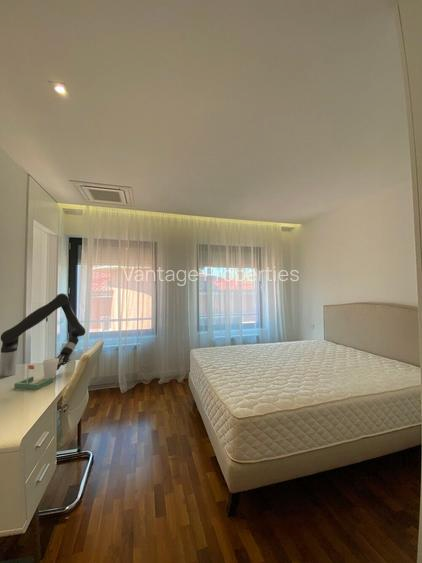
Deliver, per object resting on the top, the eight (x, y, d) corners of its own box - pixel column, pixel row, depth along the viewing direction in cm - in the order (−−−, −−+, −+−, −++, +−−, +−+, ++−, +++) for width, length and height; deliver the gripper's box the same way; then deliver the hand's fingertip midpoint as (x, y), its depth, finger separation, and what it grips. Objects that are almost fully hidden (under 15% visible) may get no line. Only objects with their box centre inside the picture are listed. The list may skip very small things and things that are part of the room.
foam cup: (60, 375, 170) (61, 358, 170) (51, 380, 161) (52, 361, 161) (49, 375, 171) (50, 357, 171) (38, 379, 162) (39, 361, 162)
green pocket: (14, 388, 147) (15, 364, 148) (31, 380, 159) (32, 358, 160) (37, 389, 145) (38, 365, 146) (52, 382, 158) (54, 359, 159)
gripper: (58, 346, 182) (44, 366, 169) (73, 347, 181) (61, 367, 168) (62, 351, 187) (50, 371, 174) (78, 352, 186) (66, 372, 173)
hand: (55, 369), depth 171 cm, fingers closed
